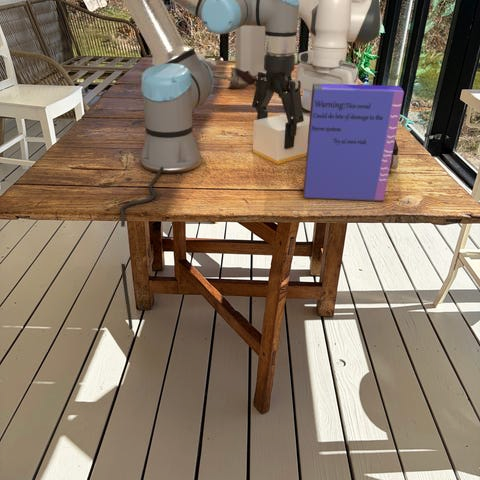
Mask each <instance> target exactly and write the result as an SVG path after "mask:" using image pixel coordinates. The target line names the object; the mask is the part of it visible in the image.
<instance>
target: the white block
mask: <svg viewBox="0 0 480 480" xmlns="http://www.w3.org/2000/svg"><path fill="white" fill-rule="evenodd" d="M264 45H265V26H247V25H243V26H241V27H239V28H236V29H235V59H234V60H235V62H234V63H235V65H234V66H235V67H234V68H237V69H240V70H242V71H244V72H245V71H249V72H250V73H251V75H252V76H256V77H258V72H264V71H266V70H265V69H264V55H265V54H267V53H266V52H265V51H264Z"/></svg>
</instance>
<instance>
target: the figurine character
mask: <svg viewBox="0 0 480 480" xmlns="http://www.w3.org/2000/svg"><path fill="white" fill-rule="evenodd" d="M398 153H399V146H398V143H397V140H396V138H395V142H394V148H393V153H392V158H391V164H390V169H389V170H397V169H398V165H399V155H398ZM389 175H390V172H389V174H388V176H389Z"/></svg>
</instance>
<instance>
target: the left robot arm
mask: <svg viewBox="0 0 480 480" xmlns="http://www.w3.org/2000/svg"><path fill="white" fill-rule="evenodd" d="M170 1H171V2H173V3H174V4H176V5H178V6H179V7H181V8H182V9H184V10H186V11H187V12H188V13H190V14H191V15H193V16H194V17H196V18H198V19H200V20H201V21H202V23H203V25H204V27H205V28H206V30H208V31H209V32H210V33H212V34H215V35H226V34H230V33H232V32H234V31H236V28H239V27H241V26H243V25H247V26H265V45H264V51H265V52H266V53H267V54H265V55H264V69H265V70H266V71H264V72H258V75H257V77H258V82H257V86H255V91H254V95H253V100H252V103H251V106H252V108H254V109H255V111H256V114H257V115H256V118H257V119H256V120H259V119H263V118H268V117H269V111H268V107H269V104H270V102H271V100H272V99H273V96H274V94H276V95H277V96H278V98H279V99H280V100H281V103H282V106H283V110H284V114H286V117H287V120H288V122H287V123H286V125H285V141H284V148H285V149H288V148H291V147H294V138H295V136H296V129H297V123H300V122H303V121H304V118H303V114H304V111H303V107H302V102H301V100H302V94H301V88H300V86H301V82H300V81H299V80H298V81H296V80H293V78H292V73H293V71H295V66H296V56H295V53H296V47H297V34H298V33H297V32H298V21H299V15H298V10H299V0H170ZM123 2H124V4H125V6H126V8H127V10H128V11H129V13H130V15H131V18H132V19H133V21H134V22H135V25H136V27H137V28H138V30H139V32H140V34H141V36H142V38H143V40H144V41H145V43H146V45H147V47H148V49H149V50H150V53H151V54H152V57H153V56H154V58H155V61H156V62H155V66H153V65H152V66H150V67H148V68H146V69H145V70H144V71H143V72H142V74H141V79H140V80H141V85H140V91H141V95H142V97H141V98H142V106H143V115H144V125H145V126H144V127H145V138H144V142H143V146H142V150H141V154H140V162H141V166H142V168H144V169H145V170H146V171H149V172H151V173H156V174H155V176H154V177H153V179H152V180H151V182H150V183H149V185H148V191H149V192H150V193H151V196H150V197H148V198H145V199H139V200H134V201H129V202H127V203H125V204H123V205H122V206H121V207H120V208H119V213H120V227H121V228H123V227H125V225H126V215H125V212H124V211H125V209H127V208H128V207H131V206H134V205H140V204H146V203H149V202H152V201H154V199H155V198H156V192H155V190H154V189H153V186H154V184H155V183H156V181H157V180H158V179H159V177H160V175H161V174H163V175H164V174H165V175H169V174H170V175H172V174H173V175H175V174H182V173H187V172H190V171H193V170H195V169H197V168H198V167H199V166H201V163H202V155H201V151H200V149H199V146H198V143H197V141H196V137H195V135H194V130H193V129H194V126H193V111H195V110H196V109H197V108H198V107H200V106H202V105H203V104H205V103H206V102H207V101H208V99H209V98H210V97H211V95H212V93H213V90H214V87H215V78H214V77H213V75H214V74H213V71H212V69H211V68H210V66H209V65H208V63H207V62H203V61H201V60H200V59H198V57H197V55H196V53H195V52H196V51H195V49H194V48H193V46H190V45H187V44H186V43H185V42H184V40H183V38H182V36H181V34H180V32H179V30H178V28H177V27H176V24H175V22H174V20H173V18H172V17H171V14H170V13H169V11H168V8H167V7H166V4H165V2H164V1H163V0H123ZM292 117H293V119H292ZM298 117H299V118H298ZM120 265H121V276H122V285H123V292H124V299H125V306H126V313H127V320H128V328H129V330H133V329H134V328H133V318H132V311H131V304H130V297H129V289H128V283H127V272H126V264H125V263H123V262H122V263H120Z"/></svg>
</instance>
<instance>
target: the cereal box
mask: <svg viewBox="0 0 480 480" xmlns="http://www.w3.org/2000/svg"><path fill="white" fill-rule="evenodd" d="M404 94H405V91H404V90H403V88H402V87H401V86H399V85H380V84H379V85H377V84H376V85H375V84H358V85H348V84H313V87H312V98H311V109H310V111H309V116H310V120H309V131H308V142H307V153H306V156H305V165H304V177H303V188H302V189H303V190H302V191H303V197H304V199H317V200H343V201H344V200H345V201H346V200H347V201H366V202H367V201H368V202H369V201H370V202H384V201H385V195H386V190H387V184H388V178H389V175H390V174H389V173H390V170H391V169H390V164H391V158H392V153H393V148H394V142H395V139H396V136H397V132H398V126H399V120H400V115H401V111H402V104H403V100H404V99H403V98H404ZM388 174H389V175H388Z"/></svg>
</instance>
